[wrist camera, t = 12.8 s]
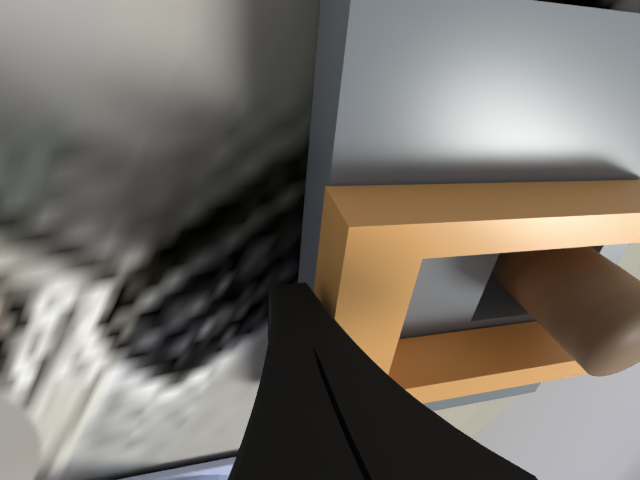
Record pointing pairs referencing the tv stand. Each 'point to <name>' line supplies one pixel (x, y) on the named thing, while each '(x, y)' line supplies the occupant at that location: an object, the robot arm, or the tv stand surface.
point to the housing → (469, 123)
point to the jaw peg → (578, 303)
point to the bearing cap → (449, 241)
